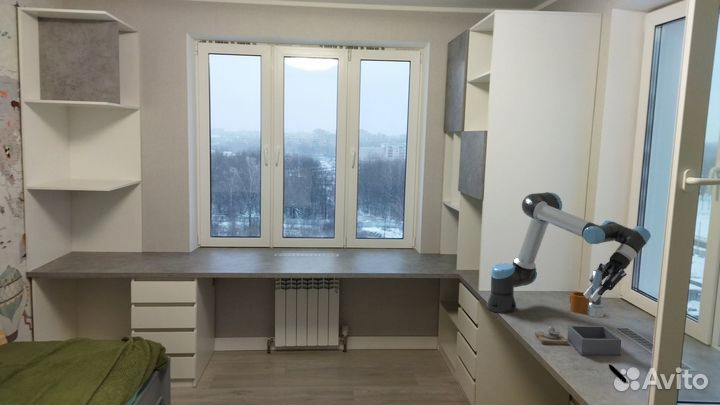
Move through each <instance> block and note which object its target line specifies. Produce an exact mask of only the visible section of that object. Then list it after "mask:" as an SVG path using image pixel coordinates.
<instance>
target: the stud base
mask: <svg viewBox="0 0 720 405" xmlns="http://www.w3.org/2000/svg"><path fill="white" fill-rule="evenodd" d="M546 330H547V331H534V336H535V337H536V338H537V339H538V341H539V342H540V344H542V345H568V343H569V342H568V341H567V338H565V337H564V336H563V334H562V333H561V332H560V331H556V328H555V326H548V327H547V329H546Z"/></svg>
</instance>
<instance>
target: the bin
mask: <svg viewBox="0 0 720 405" xmlns="http://www.w3.org/2000/svg"><path fill="white" fill-rule="evenodd" d="M566 340H567V341H568V343H569V344H570V345H571V346H572V347H573V349H574V350H576V352H577V353H578V354H579V355H580V356H584V357H585V356H587V357H589V356H590V357H591V356H593V357H621V351H622V339H621V338H620V337H618V336H617V335H616V334H615V333H614V332H612V330H610V328H608V327H606V326H605V325H568V326H567V337H566Z"/></svg>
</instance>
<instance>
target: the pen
mask: <svg viewBox="0 0 720 405" xmlns="http://www.w3.org/2000/svg"><path fill="white" fill-rule="evenodd" d="M608 368H609V370H610V371H611V372H612V373H613V374H614V375H615V376H616V377H617V378H618V379H619V380H620V381H621V382H622V383H627V378H626V377H625V376H624V375H623V374H622V372H620V371H619V370H618V369H617V368H616V367H615V366H613V365H612V364H610V363H609V364H608Z"/></svg>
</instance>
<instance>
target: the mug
mask: <svg viewBox="0 0 720 405" xmlns="http://www.w3.org/2000/svg"><path fill="white" fill-rule="evenodd" d="M584 293H585V292H583V291H572V292H571V293H570V295H569V304H570V310H569V311H571V312H573V313H576V314H588V304H589V302H590V297H589V298H588V299H587V298H586V297H585V296H584V295H583V294H584Z"/></svg>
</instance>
